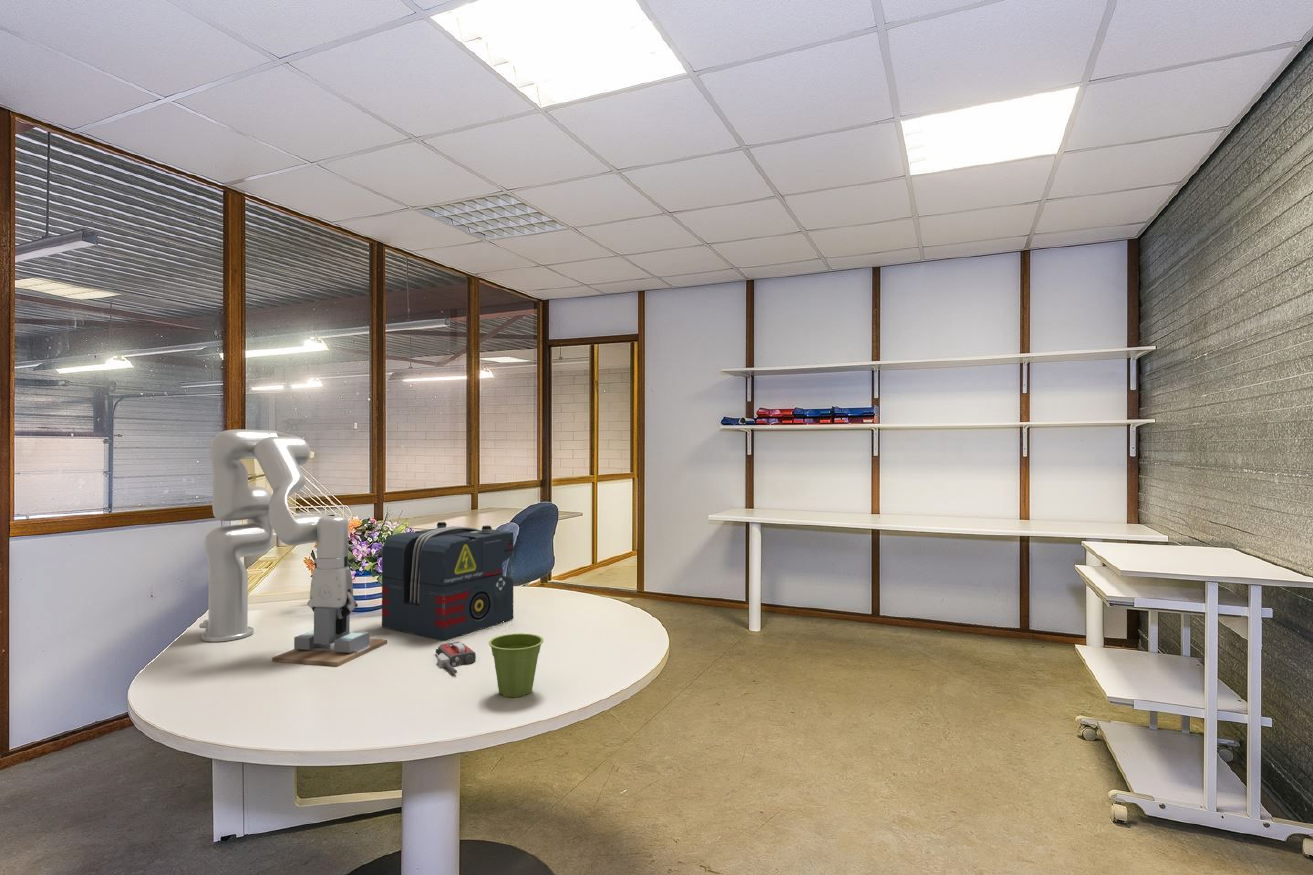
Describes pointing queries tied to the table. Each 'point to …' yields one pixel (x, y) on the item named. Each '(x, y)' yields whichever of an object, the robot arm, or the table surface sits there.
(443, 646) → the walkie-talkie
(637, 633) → the table surface
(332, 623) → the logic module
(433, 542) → the power unit
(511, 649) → the plant pot
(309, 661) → the board
